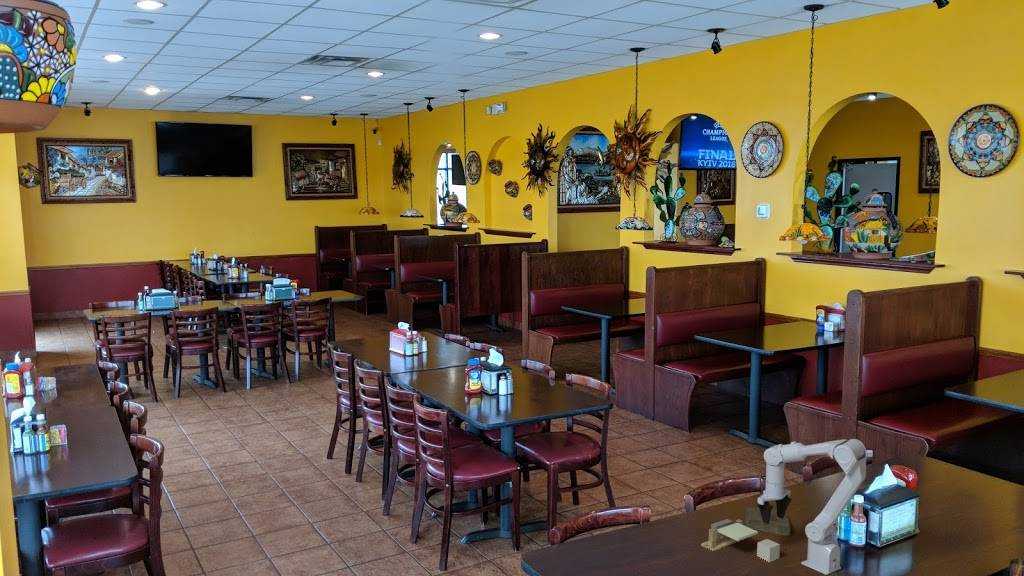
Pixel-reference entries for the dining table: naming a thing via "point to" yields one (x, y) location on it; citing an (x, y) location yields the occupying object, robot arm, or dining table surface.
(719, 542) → the frame
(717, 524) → the trapdoor
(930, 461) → the dining table surface
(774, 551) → the white cube
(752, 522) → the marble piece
